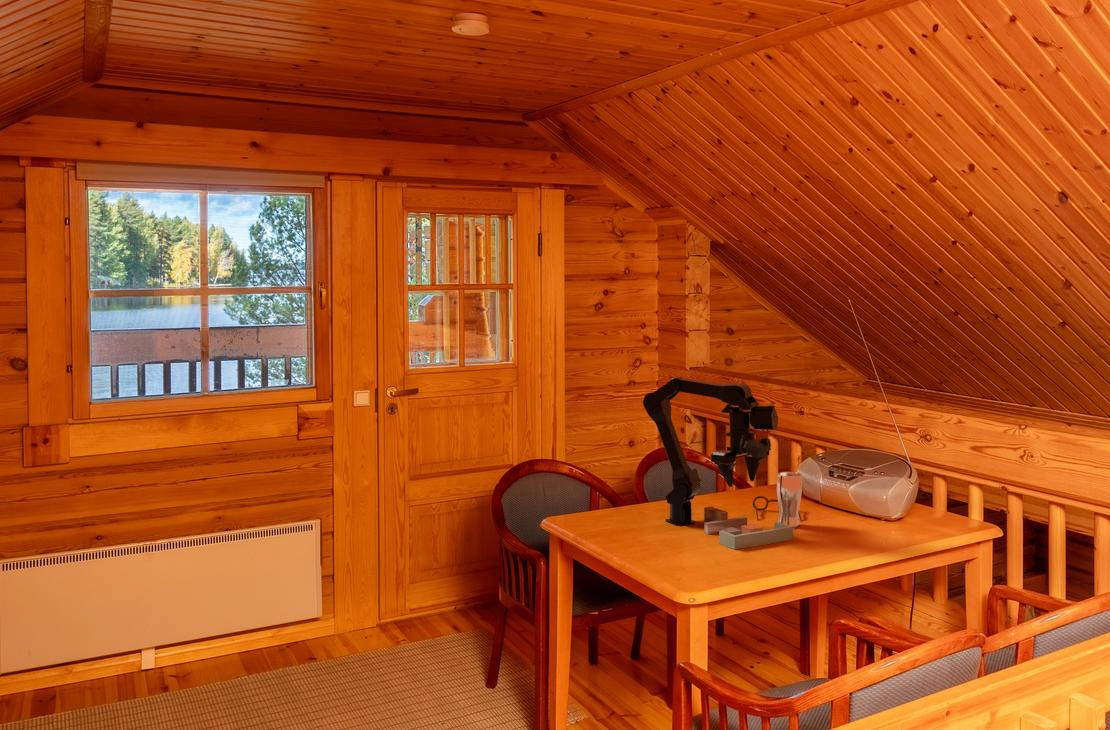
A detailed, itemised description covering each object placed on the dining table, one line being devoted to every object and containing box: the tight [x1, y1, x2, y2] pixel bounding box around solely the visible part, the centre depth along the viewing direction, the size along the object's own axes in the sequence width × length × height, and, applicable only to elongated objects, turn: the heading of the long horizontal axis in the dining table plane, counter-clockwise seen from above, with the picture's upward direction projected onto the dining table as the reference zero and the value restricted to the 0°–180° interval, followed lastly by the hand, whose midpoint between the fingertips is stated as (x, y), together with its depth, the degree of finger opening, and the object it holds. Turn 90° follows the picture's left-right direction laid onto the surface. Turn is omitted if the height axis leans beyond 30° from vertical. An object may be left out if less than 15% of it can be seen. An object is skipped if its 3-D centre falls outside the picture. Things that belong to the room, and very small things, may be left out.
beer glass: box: [776, 471, 803, 529], centre depth 284 cm, size 7×7×15 cm
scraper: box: [703, 506, 748, 535], centre depth 283 cm, size 9×14×5 cm, turn 118°
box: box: [718, 521, 794, 551], centre depth 268 cm, size 6×20×4 cm, turn 118°
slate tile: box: [721, 527, 742, 535], centre depth 272 cm, size 4×4×2 cm
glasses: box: [752, 495, 803, 522], centre depth 296 cm, size 13×13×5 cm
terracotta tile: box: [740, 523, 763, 534], centre depth 275 cm, size 4×4×2 cm
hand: (741, 483), depth 279 cm, fingers open, 9 cm apart
